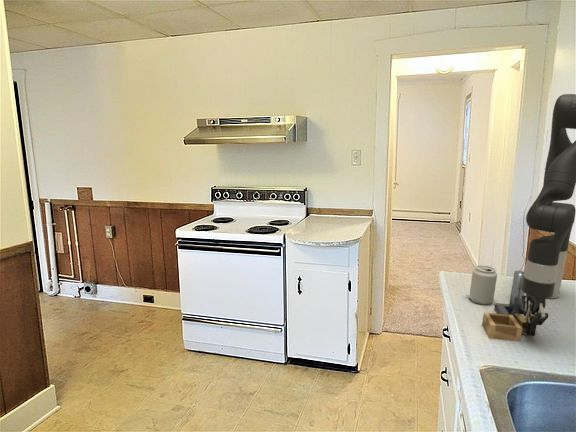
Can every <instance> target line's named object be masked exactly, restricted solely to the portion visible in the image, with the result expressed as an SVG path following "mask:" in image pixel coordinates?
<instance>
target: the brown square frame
mask: <svg viewBox="0 0 576 432" xmlns="http://www.w3.org/2000/svg"><path fill="white" fill-rule="evenodd" d="M481 325H482V327H483V329H484V330H485V331H484V332H486V334H487V336H488V338H489V339H494V340H495V339H496V340H505V341H514V342H521V338H522V334H521V333H522V327H521V326H520V325H519V323H518V322H517V321H516V319H515V318H514V316H513V315H505V314H496V312H485V311H484V312H483V315H482V321H481Z"/></svg>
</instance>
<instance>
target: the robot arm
mask: <svg viewBox="0 0 576 432" xmlns="http://www.w3.org/2000/svg"><path fill="white" fill-rule="evenodd" d="M551 119H552V120H551V131H550V141H549V148H548V153H547V158H546V162H545V168H544V175H543V176H544V177H543V185H542V188H541V189H540V192H539V194H538V196H537V198H536V199H535V200H534V202H533V203H532V205H531V206H530V208H529V209H528V211H527V213H526V217H525V221H526V222H525V223H526V224H527V227H528V228H530V229H532V230H535V231H540V232H541V231H542V232H546V233H553V234H550V235H545V236H541V237H539V238H534V239H532V240H531V241H530V242H529V247H528V253H527V260H526V263H525V266H524V271H523V272H524V276H523V282H522V291H523V292H524V293H525V294H526V295H525V294H524V295H522V304H523V314H524V316H526V317H525V320H526V326H525V333H526V334H525V335H526V336H529V337H535V336H536V330H537V326H542V325H543V324H544V322H545V321H546V320H547V319H548V318H549V313H548V312H545V309H546V306H547V303H546V300H547V299H552V300H553V299H558V298H559V296H560V291H561V287H562V283H563V282H562V280H563V277H564V276H563V275H564V272H565V271H564V270H565V266H566V261H567V255H568V250H569V243H570V238H571V234H572V233H571V232H572V228H573V225H574V223H575V218H576V207H575V205H574V204H572V203H565V202H559V201H567V200H570V199H571V198H572V197H573V195H574V192H575V189H576V139H575V140H574V142H572V141H571V140H570V138H569V136H568V133H567V132H568V131H567V129H569V130H570V129H571V130H576V93H575V94H573V93H565V94H561V95H560V96H558V97H557V99H556V100H555V103H554V105H553V109H552V118H551Z"/></svg>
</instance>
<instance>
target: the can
mask: <svg viewBox="0 0 576 432" xmlns="http://www.w3.org/2000/svg"><path fill="white" fill-rule="evenodd" d="M497 280H498V273H497V272H496V269H495V268H494V267H492V266H489V265H482V264H480V265H476V266H475V267H474V269H472V273H471V282H470V288H469V296H468V297H469V298H470V299H471V301H472V302H473V303H475V302H476V304H478V305H486V306H487V305H489V304H492V303H493V302H494V300H495V299H494V298H495V292H496V285H497Z"/></svg>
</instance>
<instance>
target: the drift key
mask: <svg viewBox="0 0 576 432" xmlns="http://www.w3.org/2000/svg"><path fill="white" fill-rule="evenodd" d="M525 317H526V316H524V314H517V313H515V314H514V318H515V319H516V321H517V322H518V323H519V325H520V326H521V327H522V333H521V335H526V333H525V326H526V320H525Z"/></svg>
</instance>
